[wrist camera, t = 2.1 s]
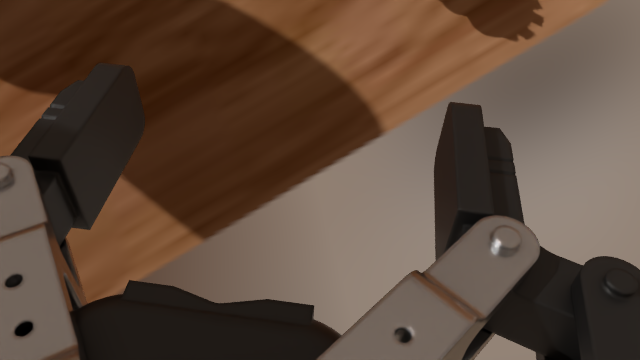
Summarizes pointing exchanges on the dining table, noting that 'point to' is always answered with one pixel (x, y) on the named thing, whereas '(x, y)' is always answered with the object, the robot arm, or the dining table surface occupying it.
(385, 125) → the dining table surface
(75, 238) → the dining table surface
